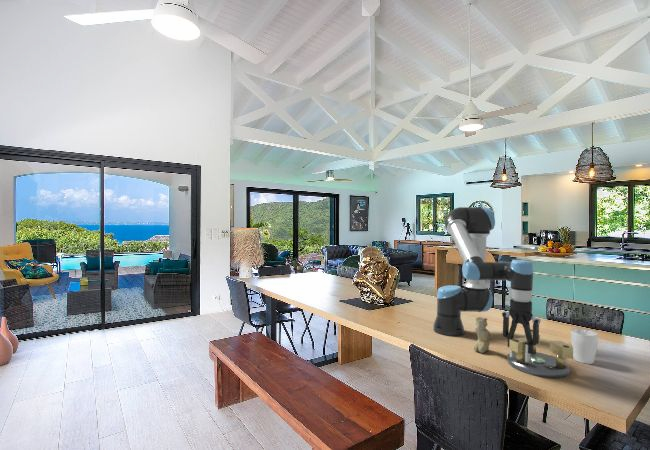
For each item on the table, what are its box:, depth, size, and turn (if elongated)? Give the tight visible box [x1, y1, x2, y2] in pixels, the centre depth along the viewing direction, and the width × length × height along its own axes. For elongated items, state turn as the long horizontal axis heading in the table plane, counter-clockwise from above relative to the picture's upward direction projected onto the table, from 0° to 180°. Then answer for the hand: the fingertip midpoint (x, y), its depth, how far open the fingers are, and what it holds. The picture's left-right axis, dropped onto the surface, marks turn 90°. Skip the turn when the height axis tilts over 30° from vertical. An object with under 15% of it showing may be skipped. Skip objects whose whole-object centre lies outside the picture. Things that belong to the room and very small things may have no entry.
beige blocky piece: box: [524, 328, 541, 354], centre depth 144 cm, size 7×4×9 cm, turn 163°
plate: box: [507, 351, 570, 379], centre depth 137 cm, size 21×21×3 cm
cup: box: [570, 328, 599, 365], centre depth 142 cm, size 9×9×12 cm
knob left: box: [508, 337, 528, 364], centre depth 135 cm, size 7×4×9 cm, turn 108°
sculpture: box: [473, 316, 491, 354], centre depth 152 cm, size 6×7×15 cm
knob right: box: [549, 340, 574, 369], centre depth 131 cm, size 7×4×9 cm, turn 0°
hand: (519, 358), depth 135 cm, fingers closed on knob left, 5 cm apart
